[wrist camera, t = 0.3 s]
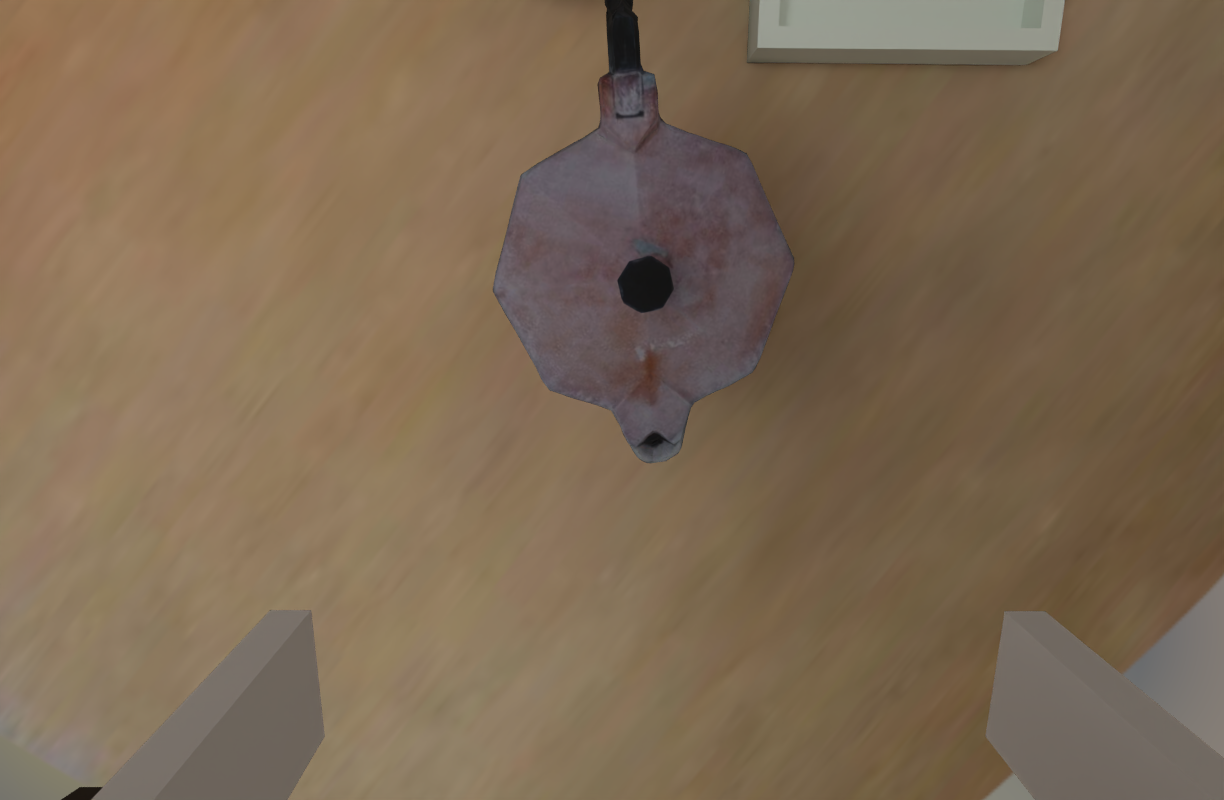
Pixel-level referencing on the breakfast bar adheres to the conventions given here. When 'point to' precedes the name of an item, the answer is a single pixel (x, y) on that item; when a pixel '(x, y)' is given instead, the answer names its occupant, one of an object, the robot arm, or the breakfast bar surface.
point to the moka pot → (642, 260)
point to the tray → (903, 31)
